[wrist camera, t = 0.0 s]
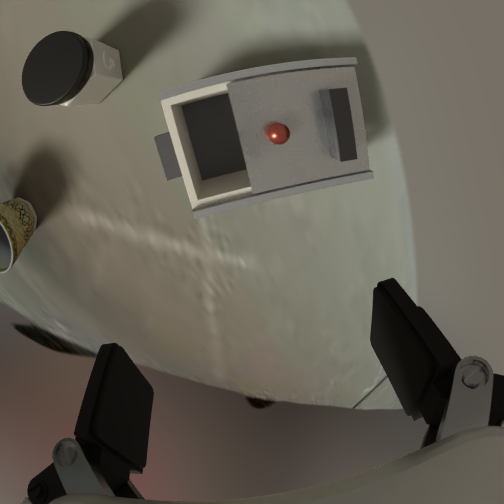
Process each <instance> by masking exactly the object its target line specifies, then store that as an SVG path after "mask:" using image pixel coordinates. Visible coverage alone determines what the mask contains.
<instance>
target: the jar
mask: <svg viewBox="0 0 504 504" xmlns="http://www.w3.org/2000/svg"><path fill="white" fill-rule="evenodd" d="M122 80H123V77H122V70H121V62H120V54H119V50H117V49H115V48H113V47H111V46H108V45H106V44H104V43H102V42H100V41H97V40H95V39H93V38H88V37H82V36H81V35H79V34H76V33H74V32H68V31H58V32H54V33H52V34H50V35H48V36H46V37H45V38H43V39H42V40H41V41H40V42H38V43H37V44H36V46H35V47H34V48H33V49H32V51H31V52H30V54H29V55H28V57H27V59H26V62H25V65H24V68H23V73H22V86H23V90H24V93H25V95H26V96H27V98H28V99H29V100H30V101H31V102H32V103H34V104H36V105H40V106H49V105H64V106H75V105H89V104H99V103H101V101H102V100H103V99H104V98H105V97H106V96H107V95H108V94H109V93H110V92H111V91H112V90H113V89H114V88H115V87H116V86H117V85H118V84H119V83H120V82H121V81H122Z"/></svg>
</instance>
